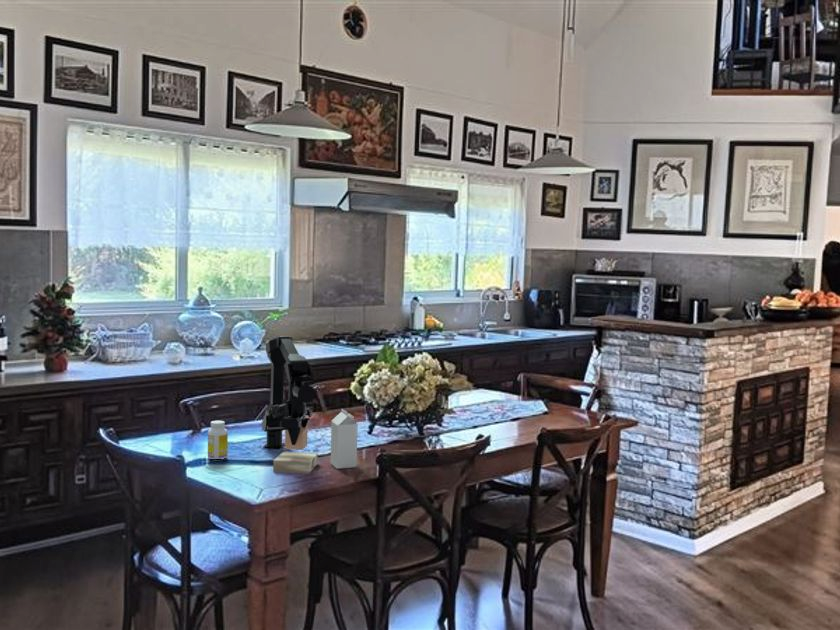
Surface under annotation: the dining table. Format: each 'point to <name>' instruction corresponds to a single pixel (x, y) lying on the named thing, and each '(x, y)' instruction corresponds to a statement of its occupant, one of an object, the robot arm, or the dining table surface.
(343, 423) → the milk carton
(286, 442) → the tan cube
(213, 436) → the supplement bottle
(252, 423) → the dining table surface
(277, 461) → the birch block
